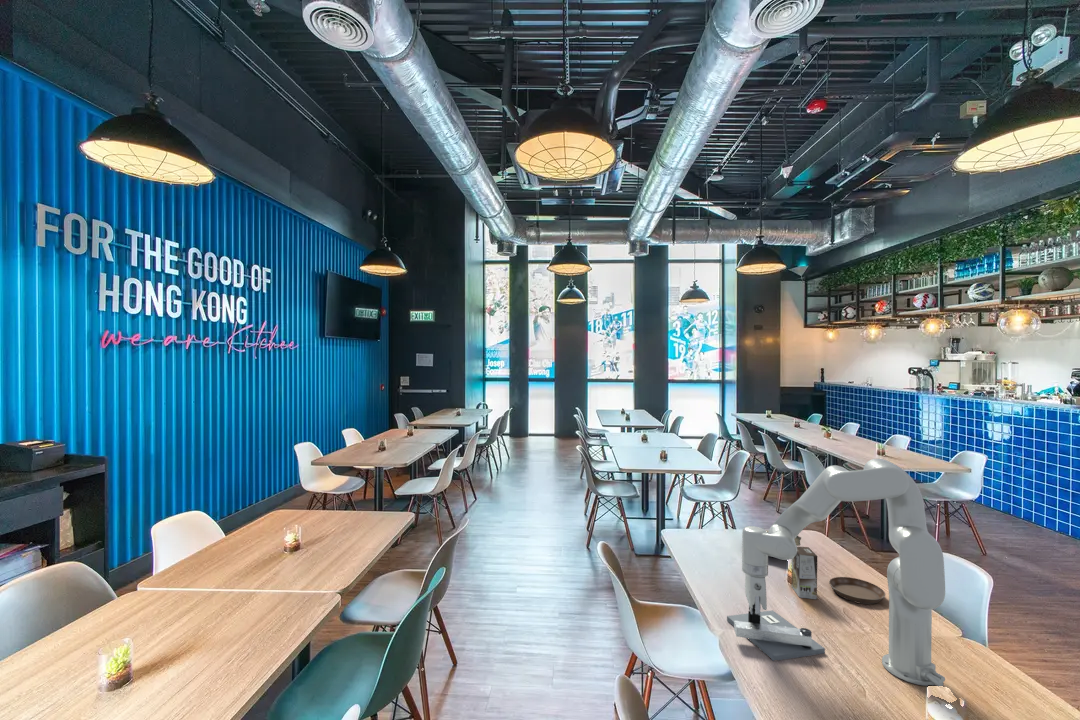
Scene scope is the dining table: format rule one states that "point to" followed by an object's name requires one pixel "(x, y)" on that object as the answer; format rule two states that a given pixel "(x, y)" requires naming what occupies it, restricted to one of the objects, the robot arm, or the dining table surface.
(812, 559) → the coffee box
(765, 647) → the label board
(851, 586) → the plant saucer
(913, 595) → the robot arm
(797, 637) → the swing bar
